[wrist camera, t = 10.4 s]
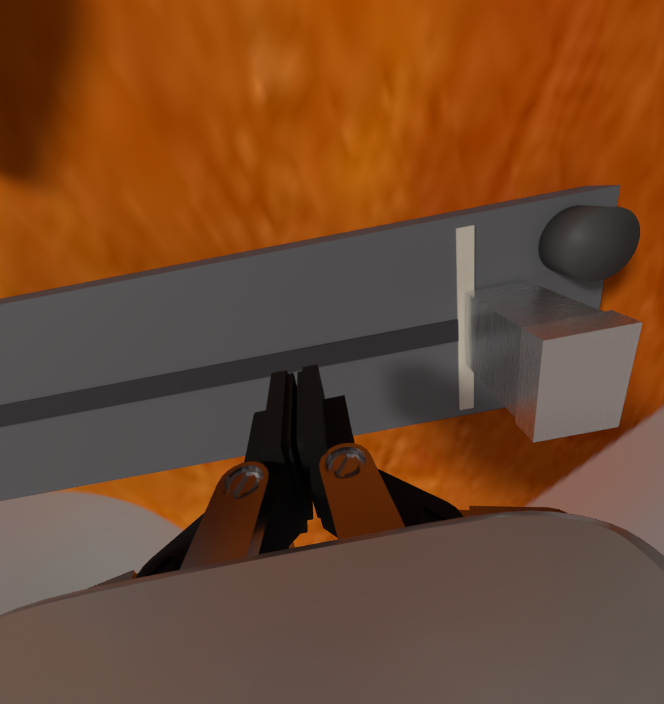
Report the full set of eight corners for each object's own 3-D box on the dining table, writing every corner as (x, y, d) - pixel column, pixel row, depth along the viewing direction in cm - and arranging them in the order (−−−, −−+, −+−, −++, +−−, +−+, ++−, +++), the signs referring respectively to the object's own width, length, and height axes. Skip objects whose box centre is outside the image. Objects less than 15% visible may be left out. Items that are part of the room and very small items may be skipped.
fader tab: (463, 290, 17) (543, 340, 11) (528, 277, 17) (642, 322, 11) (463, 366, 18) (533, 442, 13) (522, 355, 18) (618, 427, 13)
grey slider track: (-114, 321, 17) (-224, 354, 14) (586, 185, 17) (662, 184, 13) (9, 478, 22) (-48, 534, 19) (561, 376, 22) (612, 412, 18)
